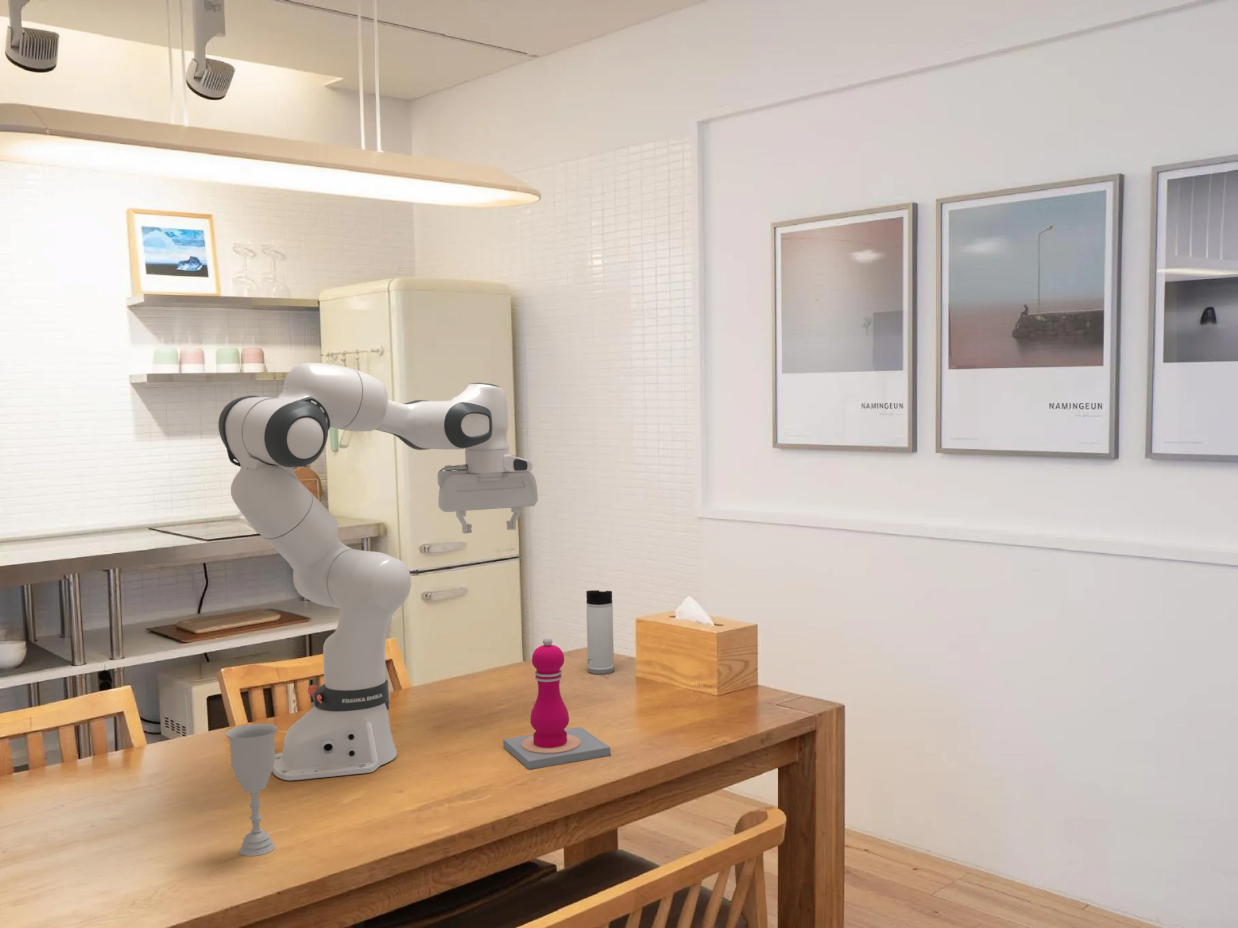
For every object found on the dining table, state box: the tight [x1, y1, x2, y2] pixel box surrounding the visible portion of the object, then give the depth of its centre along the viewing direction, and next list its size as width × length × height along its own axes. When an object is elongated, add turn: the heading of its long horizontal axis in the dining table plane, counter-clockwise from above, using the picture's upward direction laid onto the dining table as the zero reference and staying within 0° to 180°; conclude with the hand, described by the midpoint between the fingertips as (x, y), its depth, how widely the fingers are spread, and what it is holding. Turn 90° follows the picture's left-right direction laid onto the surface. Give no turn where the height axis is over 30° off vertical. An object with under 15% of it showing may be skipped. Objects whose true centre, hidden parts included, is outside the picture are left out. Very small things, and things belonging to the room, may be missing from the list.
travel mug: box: [585, 589, 615, 675], centre depth 262 cm, size 6×7×20 cm
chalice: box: [225, 723, 278, 857], centre depth 163 cm, size 7×7×18 cm
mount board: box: [502, 726, 612, 770], centre depth 205 cm, size 16×14×2 cm
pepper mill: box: [530, 636, 570, 748], centre depth 204 cm, size 7×7×20 cm
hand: (489, 531), depth 223 cm, fingers open, 8 cm apart
